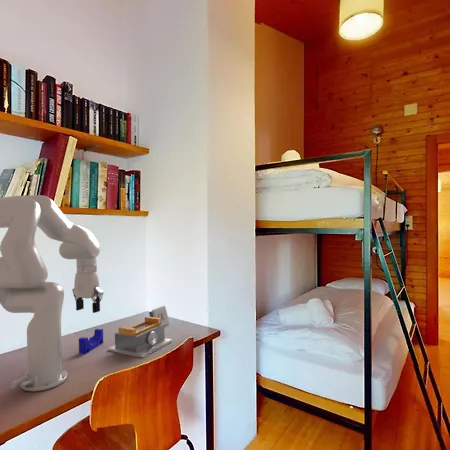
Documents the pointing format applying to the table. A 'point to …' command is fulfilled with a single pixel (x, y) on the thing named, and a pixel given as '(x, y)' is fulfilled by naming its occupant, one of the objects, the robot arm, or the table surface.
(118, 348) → the motor housing
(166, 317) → the electrical switch
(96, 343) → the blue u-shaped block
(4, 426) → the table surface
